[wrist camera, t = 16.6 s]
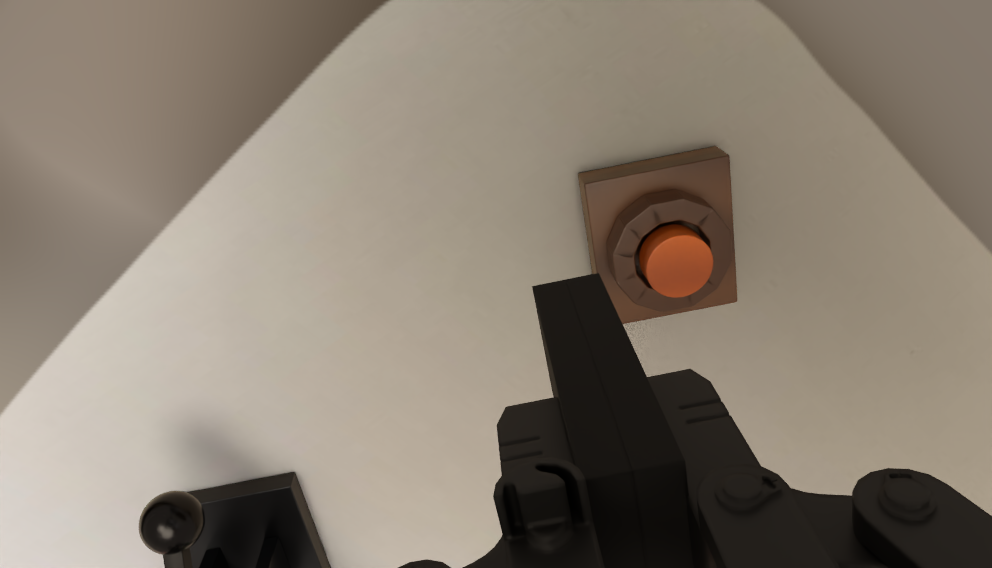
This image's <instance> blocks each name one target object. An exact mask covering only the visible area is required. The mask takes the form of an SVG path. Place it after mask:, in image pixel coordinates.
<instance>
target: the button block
mask: <svg viewBox="0 0 992 568" xmlns="http://www.w3.org/2000/svg"><path fill="white" fill-rule="evenodd" d="M578 178H579V185H580V192H581V199H582V206H583V213H584V220H585V227H586V233H587V240H588V247H589V254H590V261H591V268H592V274H596V273H599V274H600V276H601V279H602V281H603V283H604V285H605V287H606V289H607V292H608V294H609V296H610V298H611V300H612V303H613V305H614V307H615V309H616V311H617V313H618V316H619V318H620V320H621V322H622V324H625V323H630V322H635V321H640V320H645V319H651V318H656V317H661V316H666V315H671V314H676V313H682V312H687V311H692V310H697V309H702V308H708V307H713V306H718V305H723V304H728V303H733V302H737V285H736V267H735V249H734V231H733V213H732V195H731V177H730V159H729V155H728V154H726V153H725V152H724V151H722V150H721V149H719V148H718V147H717V146H713V147H708V148H703V149H698V150H693V151H688V152H683V153H678V154H673V155H668V156H663V157H658V158H653V159H648V160H643V161H638V162H633V163H628V164H623V165H618V166H613V167H607V168H602V169H597V170H592V171H587V172H582V173H579V174H578ZM673 224H678V225H684V226H687V227H689V228H691V229H693V230H694V231H695V232H696V233H697V234H698V235H699V236H700V237H701V238H702V240H703V241H704V242H705V243H706V244H707V245H708V247H709V248H710V250H711V252H712V255H713V269H712V273H711V275H710V277H709V279H708V281H707V282H706V283H705V284H704V285H703V287H701V288H700V289H699V290H698V291H696V292H694V293H693V294H690V295H688V296H684V297H677V298H674V297H667V296H664V295H662V294H660V293H658V292H657V291H655V290H654V289H653V288H652V286H651V285H650V284H649V282H648V280H647V279H646V277H645V275H644V274H643V272H642V270H641V268H640V264H639V253H640V249H641V246H642V244H643V243H644V241H645V240H646V238H647V237H648V236H649V235H650V234H651V233H652V232H654V231H655V230H657V229H659V228H661V227H663V226H667V225H673Z"/></svg>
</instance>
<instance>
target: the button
mask: <svg viewBox="0 0 992 568" xmlns="http://www.w3.org/2000/svg"><path fill="white" fill-rule="evenodd" d="M639 264H640V268H641V270H642V272H643V274H644V275H645V277H646V279H647V280H648V282H649V284H650V285H651V286H652V288H653V289H654V290H655V291H657V292H658V293H660V294H662V295H664V296H667V297H674V298H677V297H684V296H688V295H690V294H693V293H694V292H696V291H698V290H699V289H700V288H701V287H703V285H704V284H705V283H706V282H707V281H708V279H709V277H710V275H711V273H712V269H713V255H712V252H711V250H710V248H709V247H708V245H707V244H706V243H705V242H704V241H703V240H702V238H701V237H700V236H699V235H698V234H697V233H696V232H695V231H694V230H693V229H691V228H689V227H687V226H684V225H678V224H673V225H667V226H663V227H661V228H659V229H657V230H655V231H654V232H652V233H651V234H650V235H649V236H648V237H647V238H646V240H645V241H644V243H643V244H642V246H641V249H640V253H639Z"/></svg>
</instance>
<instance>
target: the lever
mask: <svg viewBox="0 0 992 568" xmlns="http://www.w3.org/2000/svg"><path fill="white" fill-rule="evenodd" d="M204 526H205V513H204V509H203V507H202V505H201V503H200V502H199V501H198V500H197V499H196V498H195V497H194V496H192V495H191V494H189V493H186V492H182V491H170V492H166V493H163V494H160V495H159V496H157V497H155V498H154V499H152V500H151V501H150V502H149V503H148V504H147V506H146V507H145V508H144V510H143V512H142V514H141V516H140V520H139V534H140V537H141V539H142V541H143V543H144V544H145V545H146V546H147V547H148V548H149V549H150V550H152V551H153V552H156V553H158V554H163V558H164V565H165V568H193V567H192V560H191V553H190V547H191V546H192V545H194V544H195V543H196V541H197V540H198V539H199V537H200V536H201V534H202V532H203V529H204Z"/></svg>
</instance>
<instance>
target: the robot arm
mask: <svg viewBox="0 0 992 568" xmlns="http://www.w3.org/2000/svg"><path fill="white" fill-rule="evenodd" d="M532 287H533V293H534V298H535V303H536V308H537V314H538V319H539V324H540V329H541V334H542V340H543V345H544V350H545V355H546V361H547V366H548V371H549V376H550V381H551V387H552V391H553V396H554V398H549V399H544V400H539V401H534V402H528V403H523V404H518V405H513V406H508V407H506V408H505V410H504V412H503V414H502V416H501V418H500V420H499V422H498V424H497V432H498V442H499V452H500V460H501V472H502V476H501V478H500V479H499V480H498V482H497V483H496V485H495V491H494V496H493V497H494V501H495V505H496V509H497V513H498V517H499V521H500V525H501V529H502V533H503V535H502V537H501V539H500V540H499V542H498V543H497V544H496V546H495V547H494V548H493V549H492V550H491V551H490V552H488V553H487V554H486V555H485V556H483V557H482V558H480V559H478V560H477V561H475V562H473V563H471V564H469V565H467V566H465V567H463V568H992V516H991V515H989V514H988V513H986V512H985V511H984V510H982V509H981V508H979V507H978V506H977V505H975V504H974V503H972V502H971V501H970V500H968V499H967V498H966V497H964V496H963V495H961V494H960V493H959V492H957V491H956V490H954V489H953V488H952V487H950V486H949V485H948V484H946V483H944V482H942V481H940V480H938V479H936V478H935V477H933V476H931V475H929V474H925V473H921V472H917V471H914V470H910V469H892V468H887V469H883V470H878V471H874V472H870V473H869V474H867V475H866V476H864V477H862V478H861V479H859V480H858V482H857V484H856V486H855V488H854V490H853V492H852V496H847V495H826V494H815V493H807V492H802V491H799V490H795V489H792V488H790V487H789V485H788V484H787V483H786V482H785V481H784V480H783V479H782V478H781V477H780V476H779V475H778V474H776V473H774V472H772V471H770V470H768V469H766V468H764V467H761V465H760V464H759V462H758V460H757V459H756V457H755V455H754V454H753V452H752V450H751V449H750V447H749V445H748V444H747V442H746V440H745V439H744V437H743V435H742V434H741V432H740V430H739V429H738V427H737V425H736V424H735V422H734V420H733V419H732V417H731V416H729V412H728V410H727V409H726V407H725V405H724V404H723V402H721V400H720V397H719V395H718V394H717V392H716V390H715V389H714V387H713V385H712V384H711V382H710V381H709V380H707V379H705V378H704V377H702V376H701V375H699V374H698V373H696V372H694V371H693V370H691V369H687V370H682V371H677V372H671V373H666V374H661V375H656V376H651V377H646V374H645V372H644V370H643V368H642V366H641V363H640V361H639V359H638V357H637V355H636V353H635V350H634V348H633V346H632V344H631V342H630V340H629V337H628V335H627V333H626V331H625V329H624V326H623V324H622V322H621V320H620V318H619V316H618V313H617V311H616V309H615V307H614V305H613V303H612V300H611V298H610V296H609V294H608V292H607V289H606V287H605V285H604V283H603V281H602V279H601V276H600V274H599V273H596V274H591V275H586V276H581V277H576V278H572V279H567V280H562V281H557V282H552V283H547V284H542V285H537V286H532ZM399 568H451V567H449V566H448V565H446V564H444V563H443V562H438V561H432V560H421V561H415V562H409V563H407V564H405V565H403V566H401V567H399Z"/></svg>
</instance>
